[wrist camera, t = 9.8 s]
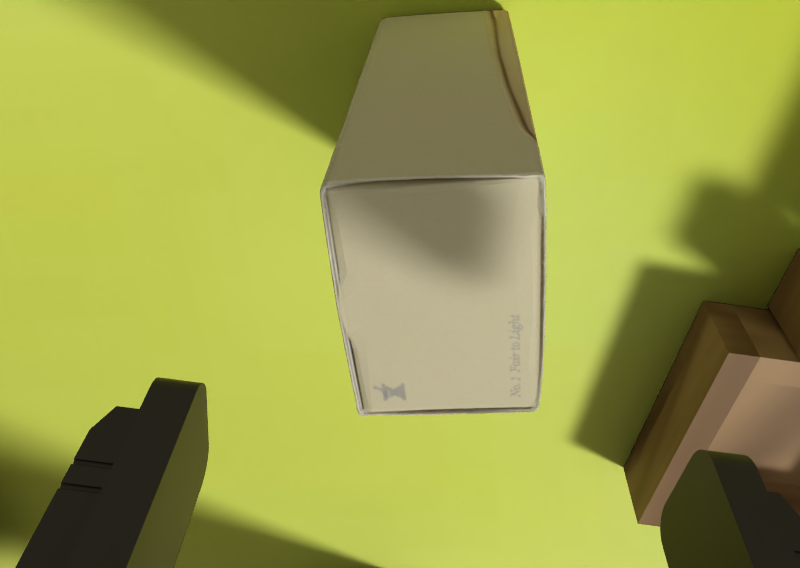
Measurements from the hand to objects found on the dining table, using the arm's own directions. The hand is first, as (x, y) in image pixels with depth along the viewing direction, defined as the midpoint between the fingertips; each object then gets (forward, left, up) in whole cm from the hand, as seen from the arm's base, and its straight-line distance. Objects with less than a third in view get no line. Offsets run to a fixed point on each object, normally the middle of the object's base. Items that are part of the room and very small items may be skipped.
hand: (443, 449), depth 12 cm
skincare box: (0, 0, -16) cm, 16 cm away
